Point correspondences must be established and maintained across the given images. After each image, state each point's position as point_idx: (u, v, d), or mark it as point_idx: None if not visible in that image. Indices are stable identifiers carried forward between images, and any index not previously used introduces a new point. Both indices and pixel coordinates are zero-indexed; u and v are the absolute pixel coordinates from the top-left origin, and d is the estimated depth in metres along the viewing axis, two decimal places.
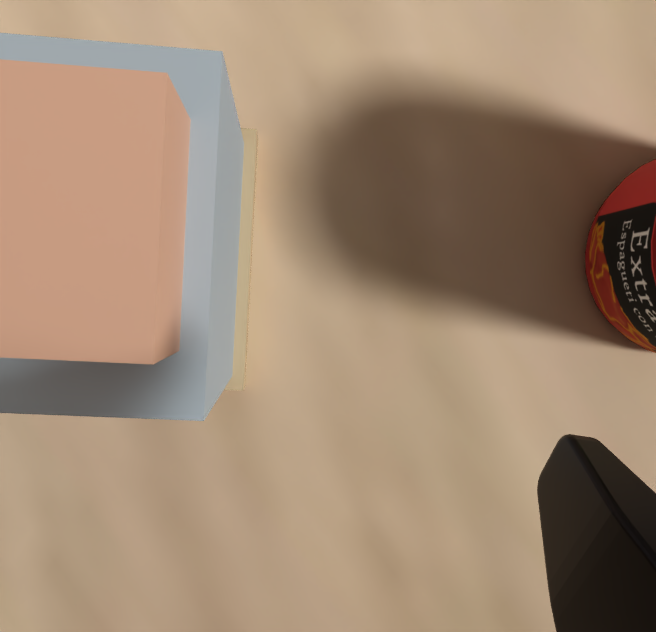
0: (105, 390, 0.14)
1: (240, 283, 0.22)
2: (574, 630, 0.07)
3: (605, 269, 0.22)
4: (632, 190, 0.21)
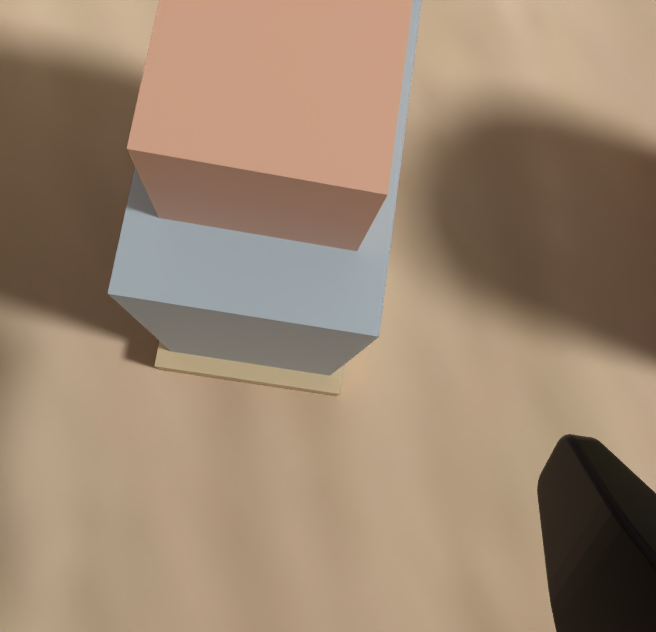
0: (266, 286, 0.11)
1: None
2: (574, 630, 0.07)
3: None
4: None
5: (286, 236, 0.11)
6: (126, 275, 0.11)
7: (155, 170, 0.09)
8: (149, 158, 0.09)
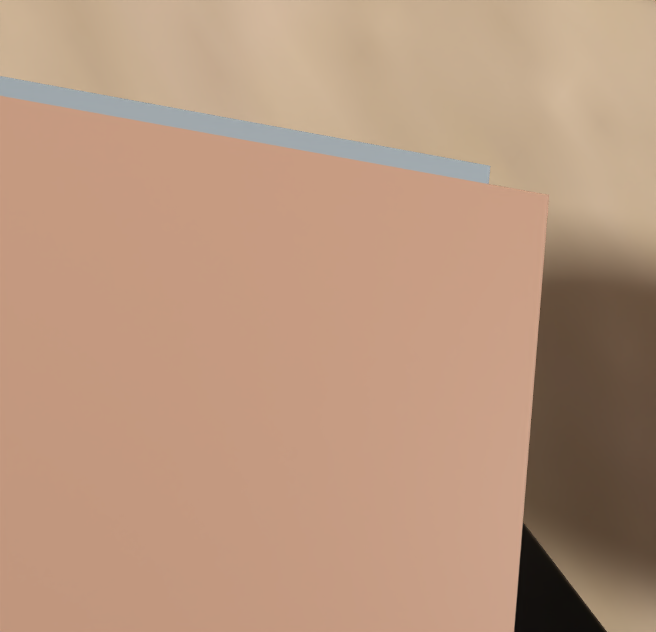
0: None
1: None
2: None
3: None
4: None
5: None
6: None
7: None
8: None
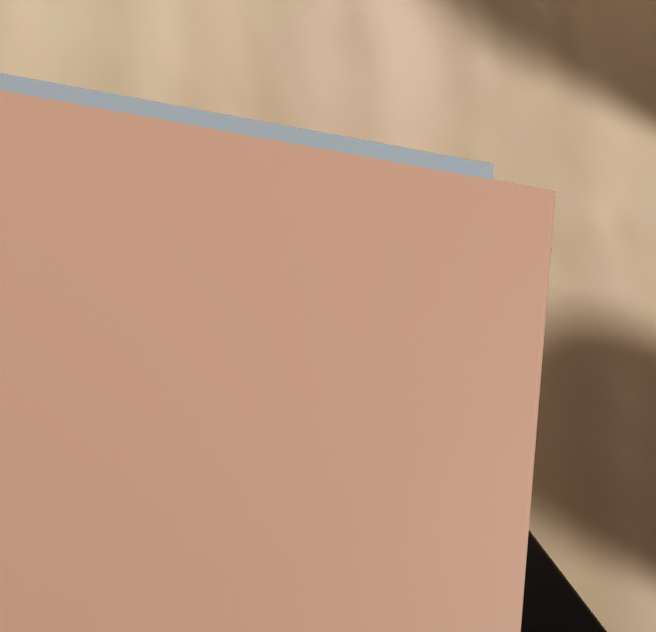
0: None
1: None
2: None
3: None
4: None
5: None
6: None
7: None
8: None
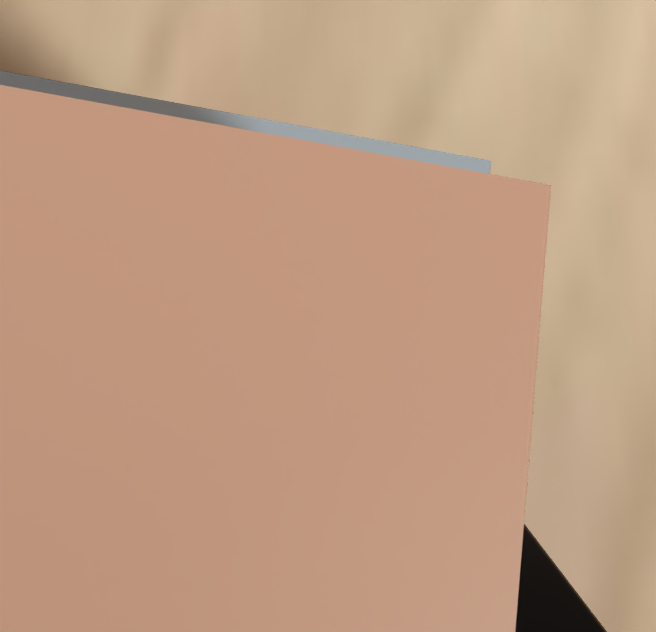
0: None
1: None
2: None
3: None
4: None
5: None
6: None
7: None
8: None
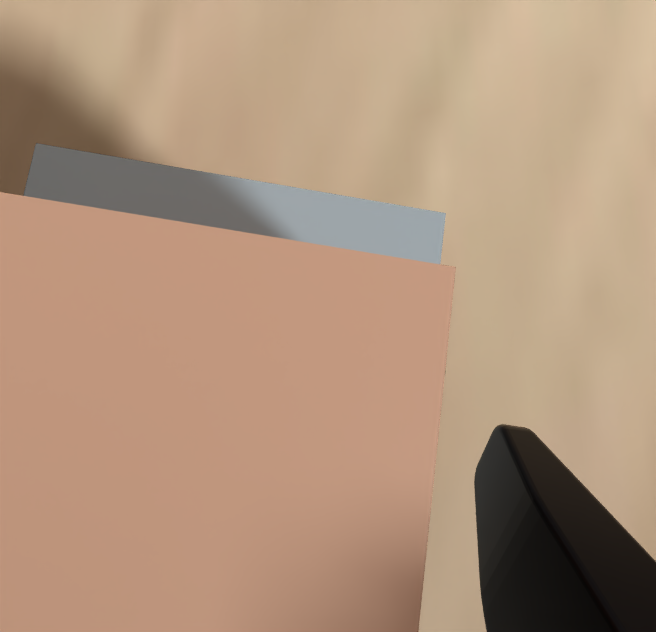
0: None
1: None
2: (499, 621, 0.07)
3: None
4: None
5: None
6: None
7: None
8: None
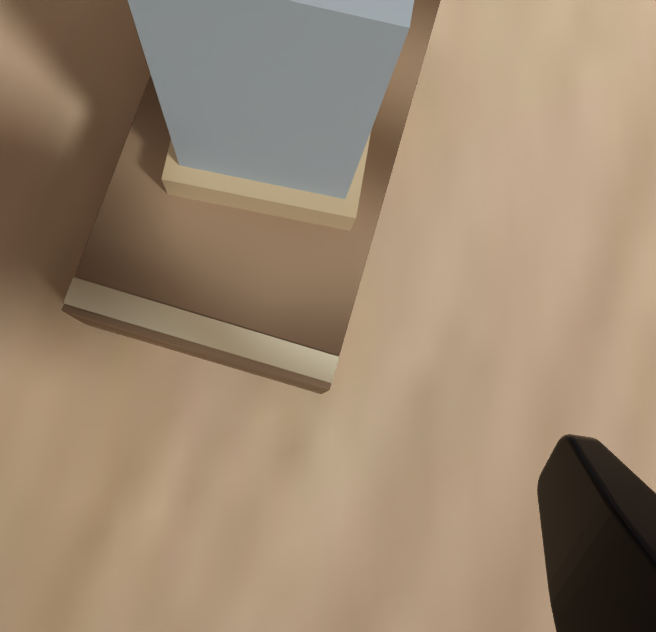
0: None
1: None
2: (574, 630, 0.07)
3: None
4: None
5: None
6: None
7: None
8: None
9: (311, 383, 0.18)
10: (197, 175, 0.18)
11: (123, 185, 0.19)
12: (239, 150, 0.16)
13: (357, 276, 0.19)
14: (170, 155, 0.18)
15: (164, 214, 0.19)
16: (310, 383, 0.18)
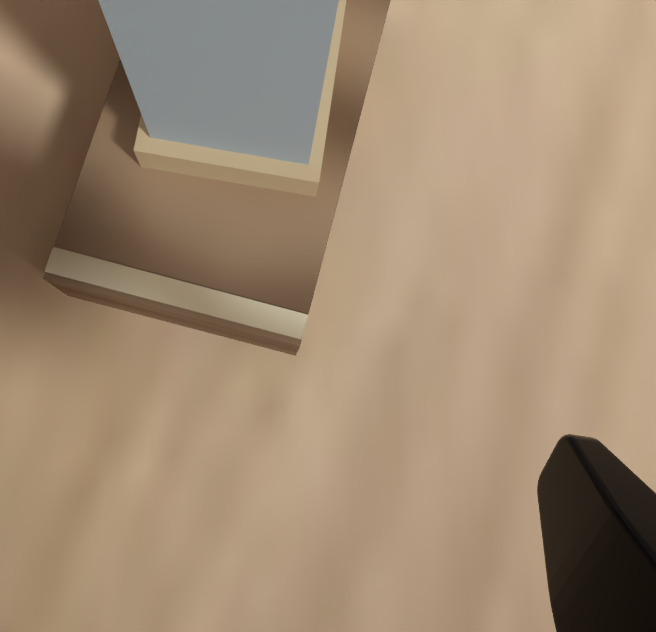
0: None
1: (326, 71, 0.20)
2: (574, 630, 0.07)
3: None
4: None
5: None
6: None
7: None
8: None
9: (282, 340, 0.19)
10: (167, 146, 0.19)
11: (98, 159, 0.20)
12: (204, 118, 0.17)
13: (323, 239, 0.20)
14: (141, 128, 0.19)
15: (138, 186, 0.20)
16: (281, 340, 0.19)
